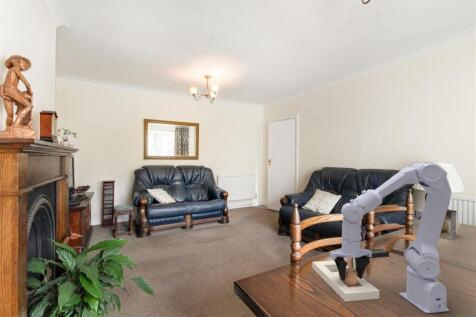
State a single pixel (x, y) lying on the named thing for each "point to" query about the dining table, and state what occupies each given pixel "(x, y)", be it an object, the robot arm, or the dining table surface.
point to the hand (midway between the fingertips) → (350, 278)
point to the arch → (392, 241)
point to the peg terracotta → (350, 277)
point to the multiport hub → (379, 253)
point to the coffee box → (449, 225)
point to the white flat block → (337, 284)
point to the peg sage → (354, 263)
